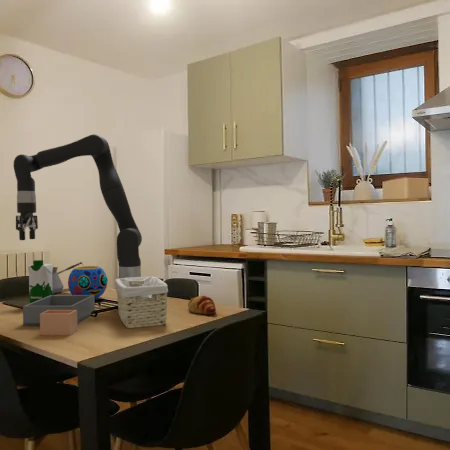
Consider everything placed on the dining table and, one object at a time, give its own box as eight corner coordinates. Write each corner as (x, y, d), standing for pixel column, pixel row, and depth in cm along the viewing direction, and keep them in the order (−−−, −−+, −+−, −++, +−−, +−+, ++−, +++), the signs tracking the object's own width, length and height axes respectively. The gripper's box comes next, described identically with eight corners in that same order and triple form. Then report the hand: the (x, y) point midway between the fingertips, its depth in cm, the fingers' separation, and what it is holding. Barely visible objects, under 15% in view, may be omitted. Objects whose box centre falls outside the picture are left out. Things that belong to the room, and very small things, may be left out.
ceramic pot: (76, 304, 197) (76, 270, 196) (62, 299, 210) (61, 267, 210) (114, 299, 208) (113, 267, 207) (98, 294, 221) (97, 264, 221)
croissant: (184, 316, 188) (176, 300, 187) (203, 302, 193) (195, 286, 191) (208, 325, 170) (199, 307, 168) (228, 310, 175) (219, 292, 173)
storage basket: (169, 326, 158) (169, 284, 157) (122, 330, 152) (122, 287, 152) (156, 312, 180) (155, 275, 180) (114, 316, 174) (114, 278, 174)
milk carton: (26, 308, 191) (25, 261, 190) (37, 303, 200) (36, 259, 199) (46, 308, 190) (45, 261, 190) (56, 304, 199) (55, 258, 199)
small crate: (77, 330, 152) (77, 309, 152) (70, 335, 146) (69, 313, 146) (48, 330, 153) (48, 309, 153) (40, 335, 147) (39, 313, 147)
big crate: (94, 312, 180) (94, 295, 180) (72, 326, 158) (72, 306, 158) (50, 312, 181) (50, 295, 181) (23, 326, 159) (22, 306, 159)
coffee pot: (39, 295, 221) (38, 265, 221) (39, 292, 231) (38, 263, 231) (84, 292, 229) (84, 263, 229) (82, 289, 240) (82, 261, 239)
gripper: (26, 201, 186) (27, 240, 186) (42, 202, 200) (43, 238, 201) (9, 201, 187) (10, 240, 187) (26, 202, 201) (27, 238, 201)
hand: (27, 239), depth 194 cm, fingers open, 8 cm apart
